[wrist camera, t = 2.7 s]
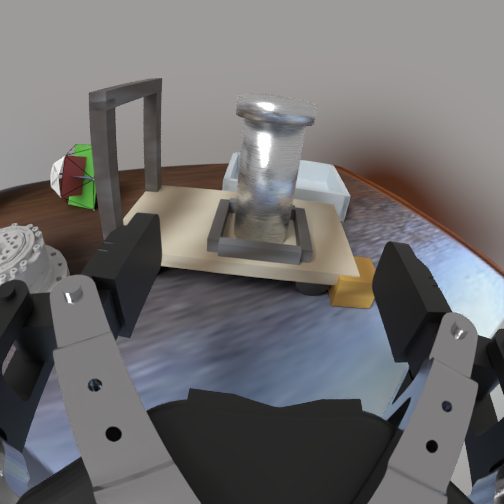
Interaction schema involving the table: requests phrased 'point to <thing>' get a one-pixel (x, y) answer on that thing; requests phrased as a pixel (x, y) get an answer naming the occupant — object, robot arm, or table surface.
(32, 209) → the table surface
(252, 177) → the pin
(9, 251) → the mechanical component
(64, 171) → the geometric puzzle
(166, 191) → the dolly
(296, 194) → the tray
